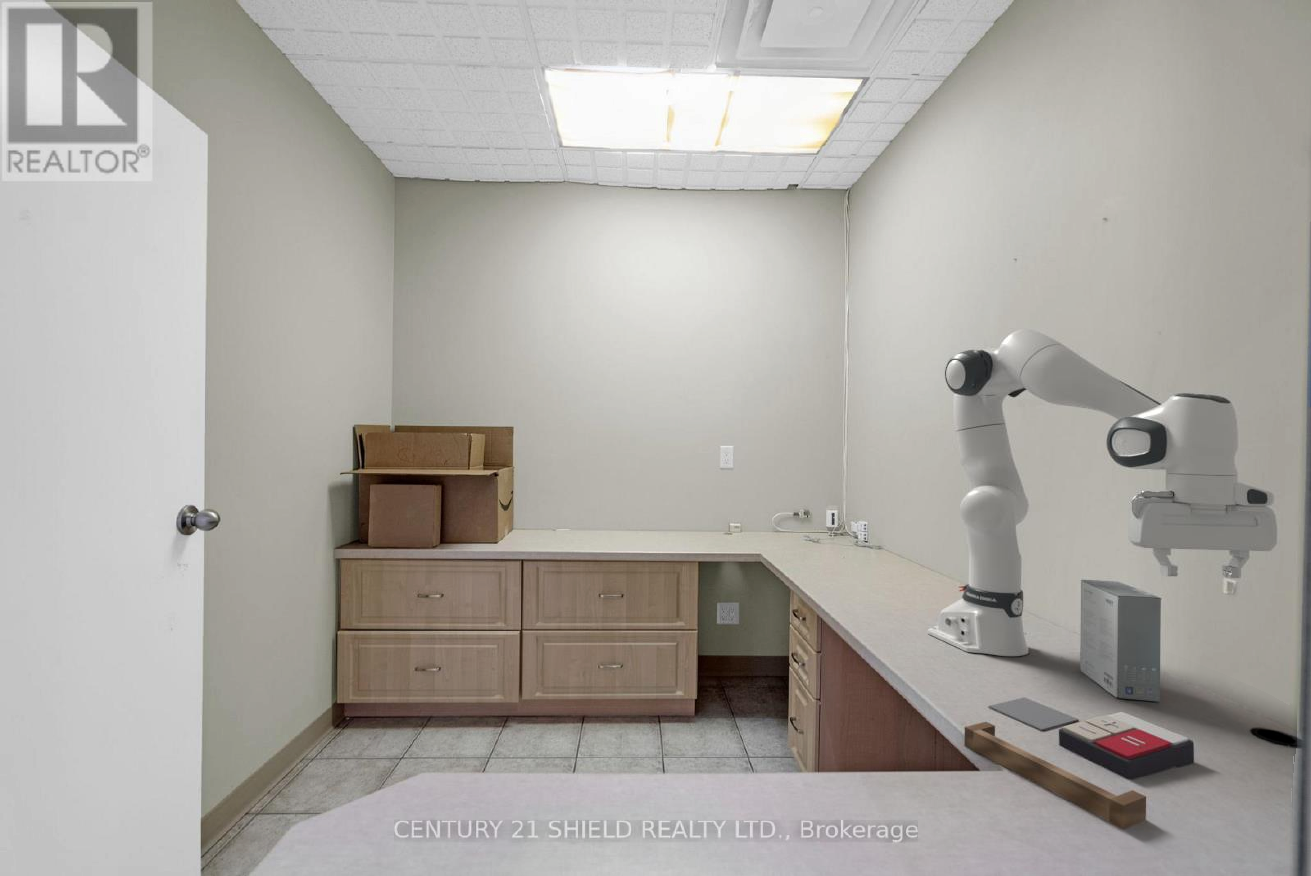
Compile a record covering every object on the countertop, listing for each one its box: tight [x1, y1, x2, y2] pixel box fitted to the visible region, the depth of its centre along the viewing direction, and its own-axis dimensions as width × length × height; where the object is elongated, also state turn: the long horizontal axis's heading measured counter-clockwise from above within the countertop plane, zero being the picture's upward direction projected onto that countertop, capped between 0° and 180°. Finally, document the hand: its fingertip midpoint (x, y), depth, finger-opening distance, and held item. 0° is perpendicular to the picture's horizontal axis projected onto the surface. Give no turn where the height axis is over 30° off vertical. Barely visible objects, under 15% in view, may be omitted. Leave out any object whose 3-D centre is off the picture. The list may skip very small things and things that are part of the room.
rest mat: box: [988, 697, 1080, 732], centre depth 111 cm, size 10×10×1 cm
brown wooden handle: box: [963, 721, 1147, 830], centre depth 90 cm, size 23×5×3 cm, turn 24°
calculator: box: [1058, 711, 1195, 780], centre depth 98 cm, size 11×4×15 cm
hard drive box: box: [1079, 579, 1162, 702], centre depth 125 cm, size 16×8×20 cm, turn 168°
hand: (1200, 576), depth 101 cm, fingers open, 8 cm apart
